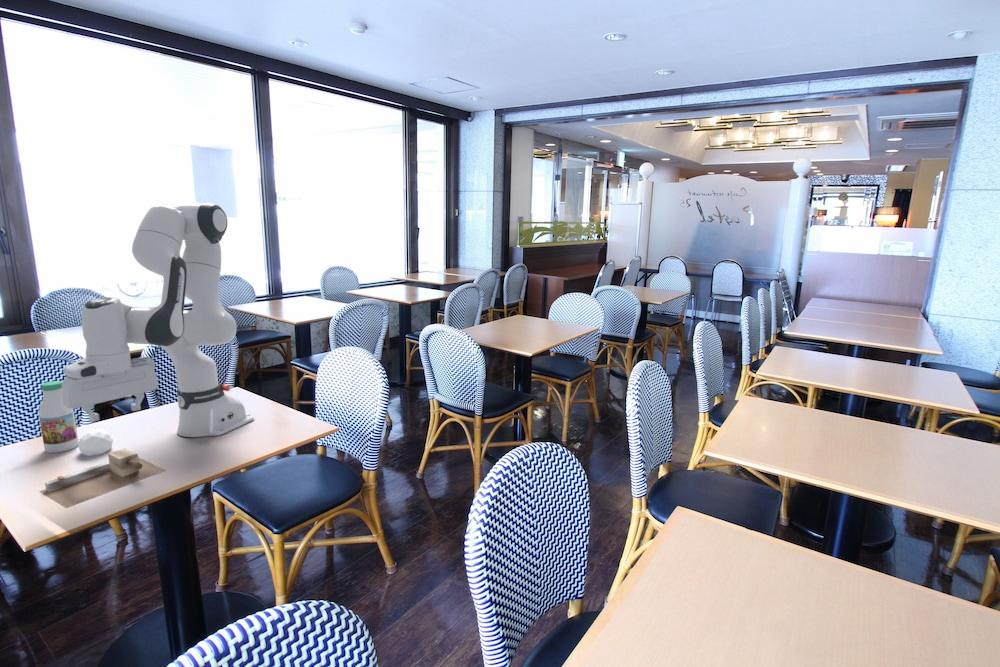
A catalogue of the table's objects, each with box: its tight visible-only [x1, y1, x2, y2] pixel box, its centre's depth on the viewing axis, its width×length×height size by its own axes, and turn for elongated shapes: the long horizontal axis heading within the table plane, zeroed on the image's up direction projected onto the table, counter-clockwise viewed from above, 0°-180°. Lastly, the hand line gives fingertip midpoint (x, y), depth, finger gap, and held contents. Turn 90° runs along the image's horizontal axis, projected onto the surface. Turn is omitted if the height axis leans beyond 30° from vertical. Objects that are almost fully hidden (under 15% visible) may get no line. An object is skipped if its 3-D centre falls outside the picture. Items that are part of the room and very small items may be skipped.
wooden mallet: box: [107, 447, 142, 477], centre depth 136 cm, size 4×11×5 cm, turn 60°
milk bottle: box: [38, 380, 79, 454], centre depth 151 cm, size 8×8×20 cm
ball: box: [77, 428, 114, 457], centre depth 148 cm, size 8×8×8 cm
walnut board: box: [39, 453, 167, 509], centre depth 132 cm, size 22×14×4 cm, turn 150°
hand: (116, 415), depth 134 cm, fingers open, 8 cm apart
